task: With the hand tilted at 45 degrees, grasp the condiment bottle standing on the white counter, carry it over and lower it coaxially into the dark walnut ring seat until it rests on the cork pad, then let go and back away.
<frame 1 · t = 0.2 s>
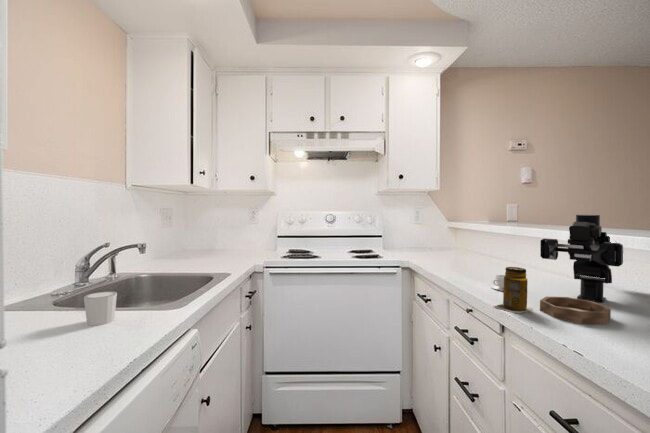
hand: (570, 255, 85), 17 cm above the worktop, tool horizontal, fingers open, 9 cm apart
ring seat: (573, 314, 86), on the worktop
teacup: (506, 290, 114), on the worktop
condiment: (512, 309, 92), on the worktop
shot glass: (101, 322, 79), on the worktop
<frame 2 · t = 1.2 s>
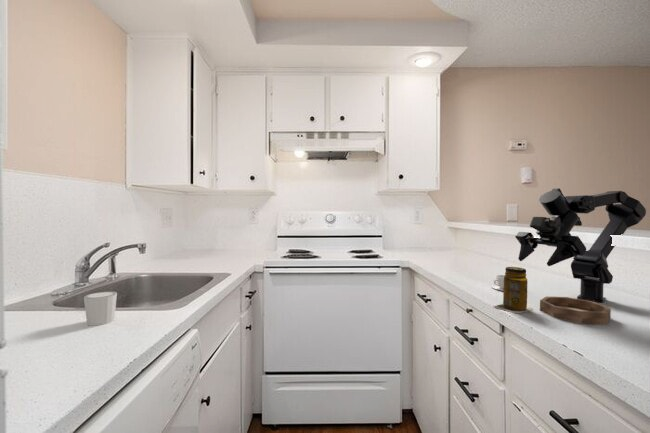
hand: (533, 262, 94), 13 cm above the worktop, tool tilted 45°, fingers open, 9 cm apart
nothing on the worktop moved.
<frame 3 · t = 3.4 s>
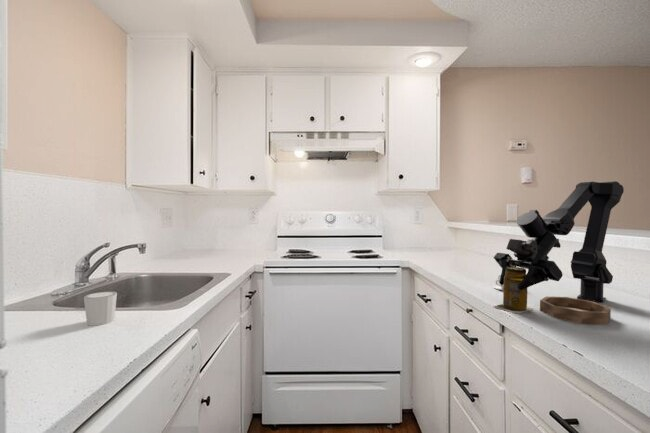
hand: (509, 286, 91), 7 cm above the worktop, tool tilted 45°, fingers closed on condiment, 6 cm apart
condiment: (512, 309, 92), on the worktop, touching gripper
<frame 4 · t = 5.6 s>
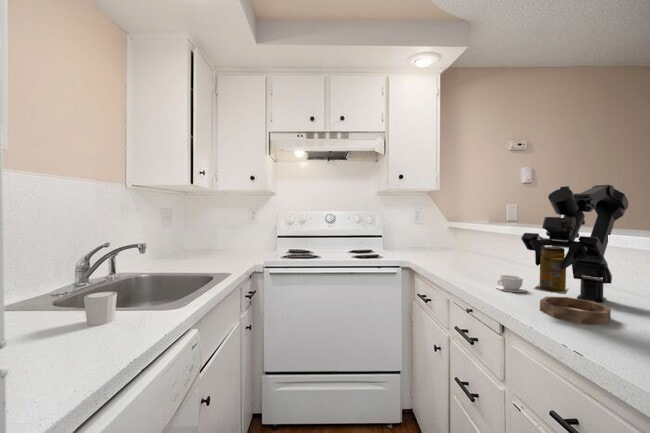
hand: (549, 266, 87), 13 cm above the worktop, tool tilted 45°, fingers closed on condiment, 6 cm apart
condiment: (551, 290, 88), point 6 cm above the worktop, touching gripper
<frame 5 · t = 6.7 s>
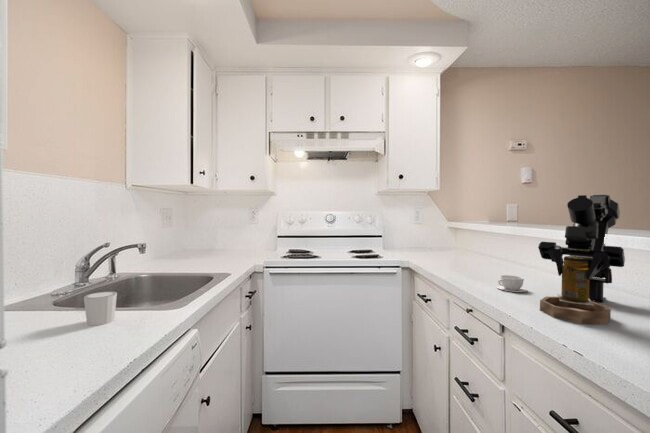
hand: (573, 276, 85), 11 cm above the worktop, tool tilted 45°, fingers closed on condiment, 6 cm apart
condiment: (574, 301, 86), point 4 cm above the worktop, touching gripper
when the fingers open (8 cm above the worktop, at t = 7.6 s): condiment drops 1 cm, resting on ring seat.
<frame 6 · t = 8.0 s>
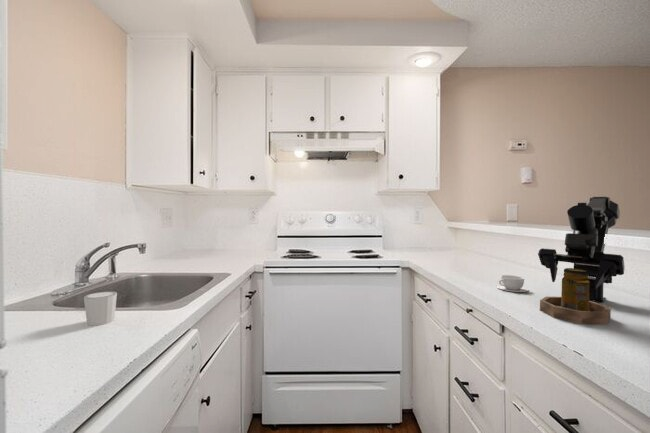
hand: (573, 284, 85), 9 cm above the worktop, tool tilted 45°, fingers open, 9 cm apart
condiment: (574, 313, 86), resting on ring seat
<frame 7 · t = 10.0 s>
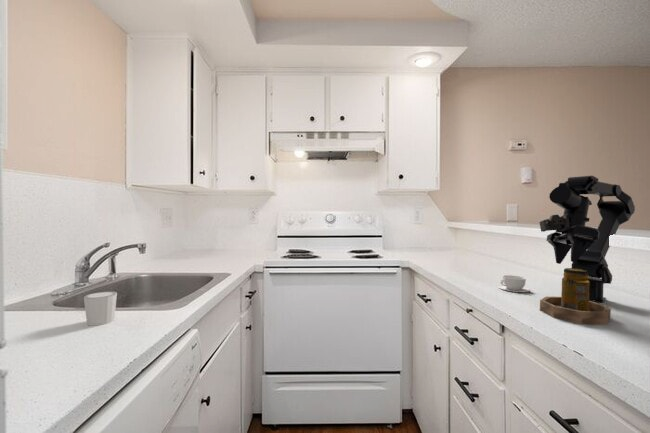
hand: (565, 262, 94), 13 cm above the worktop, tool tilted 20°, fingers open, 9 cm apart
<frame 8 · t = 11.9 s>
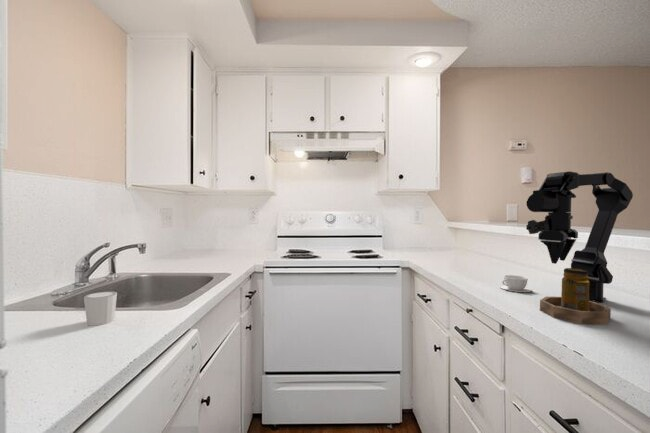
hand: (558, 261, 97), 13 cm above the worktop, tool pointing down, fingers open, 9 cm apart
at the end: condiment 0.1 cm from the ring seat (horizontally); condiment tilted 0°; the gripper is holding nothing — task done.
